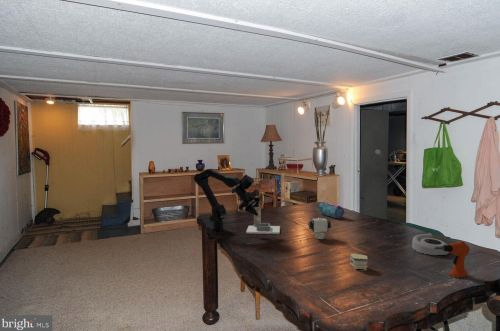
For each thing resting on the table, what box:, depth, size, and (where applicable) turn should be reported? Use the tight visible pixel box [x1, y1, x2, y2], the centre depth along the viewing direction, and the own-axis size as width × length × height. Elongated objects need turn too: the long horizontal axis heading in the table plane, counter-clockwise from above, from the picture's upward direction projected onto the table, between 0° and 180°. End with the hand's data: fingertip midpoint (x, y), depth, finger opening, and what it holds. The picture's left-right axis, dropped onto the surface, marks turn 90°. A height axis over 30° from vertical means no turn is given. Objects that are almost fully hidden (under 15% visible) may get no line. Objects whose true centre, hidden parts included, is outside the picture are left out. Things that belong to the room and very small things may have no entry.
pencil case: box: [317, 201, 345, 219], centre depth 231 cm, size 21×9×10 cm, turn 24°
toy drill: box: [434, 241, 471, 278], centre depth 126 cm, size 5×18×14 cm, turn 109°
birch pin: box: [253, 206, 262, 227], centre depth 184 cm, size 4×4×11 cm
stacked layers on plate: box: [349, 253, 368, 271], centre depth 137 cm, size 10×9×6 cm
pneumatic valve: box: [307, 217, 332, 240], centre depth 179 cm, size 6×12×12 cm, turn 94°
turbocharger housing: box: [411, 232, 450, 256], centre depth 156 cm, size 17×7×15 cm
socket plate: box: [245, 222, 281, 235], centre depth 196 cm, size 20×14×4 cm
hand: (259, 214), depth 183 cm, fingers closed on birch pin, 4 cm apart
